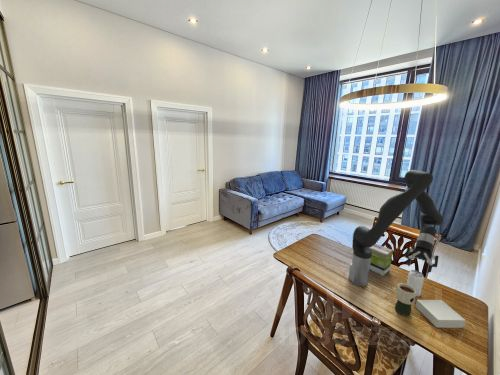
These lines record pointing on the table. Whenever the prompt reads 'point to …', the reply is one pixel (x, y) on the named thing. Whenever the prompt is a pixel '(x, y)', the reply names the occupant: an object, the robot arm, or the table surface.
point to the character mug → (405, 299)
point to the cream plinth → (440, 314)
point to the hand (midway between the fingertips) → (418, 269)
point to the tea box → (380, 259)
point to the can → (415, 281)
